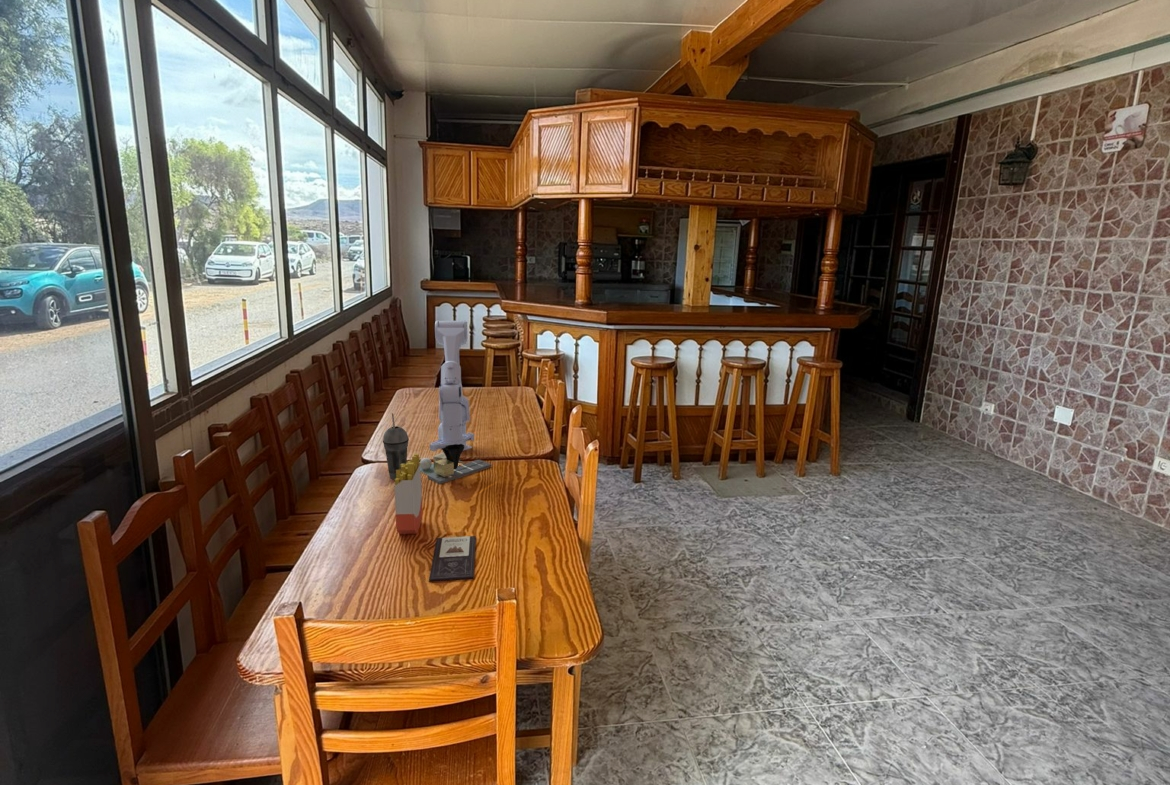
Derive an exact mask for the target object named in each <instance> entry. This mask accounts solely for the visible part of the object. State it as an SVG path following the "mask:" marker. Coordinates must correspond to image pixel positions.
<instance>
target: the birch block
mask: <svg viewBox="0 0 1170 785" xmlns="http://www.w3.org/2000/svg"><path fill="white" fill-rule="evenodd" d="M442 459H446V460H447V458H446V456H445V454H444V453H443V452H439V453H437V454H435V455H433V463H434V469H435V461H438V460H442Z"/></svg>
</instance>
